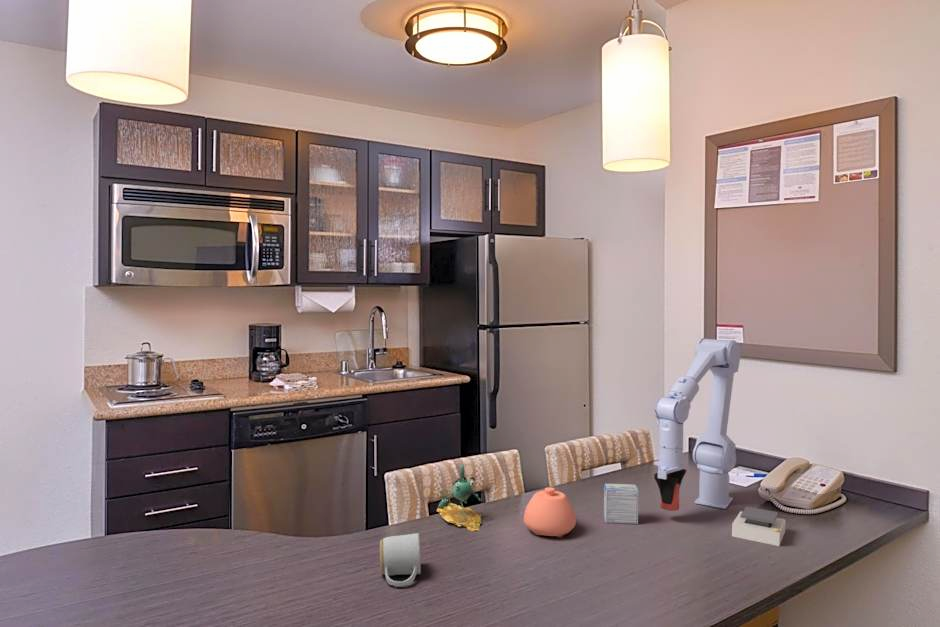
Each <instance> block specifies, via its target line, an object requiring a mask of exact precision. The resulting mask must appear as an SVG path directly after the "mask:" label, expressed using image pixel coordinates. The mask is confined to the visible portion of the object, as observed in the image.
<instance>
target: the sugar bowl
mask: <svg viewBox="0 0 940 627" xmlns="http://www.w3.org/2000/svg"><path fill="white" fill-rule="evenodd" d="M576 517H577V516H576V514H575V511H574V507H573V505H572V504H571V501H570V500H569V498H568V497H567V495H566V494H565V493H563V492H562V491H558V490H556V489H555V488H554V487H552V486H549V487H544V490H539V491H536V492H535V493H534V494H532V497H531V498H530V500H529V501H528V504H527V505H526V507H525V510H524V514H523V522H524V525H525V526H526V527H527V529H529V531H530V532H532V533H533V534H534V535H535V534H536V536H547V537H555V536H556V538H562V537H563V536H564V535H567V534H569V533H570V532H571V531H572V530H573V529H574V527H575V526H576V523H577V521H576V520H577V519H576Z"/></svg>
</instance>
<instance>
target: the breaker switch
mask: <svg viewBox="0 0 940 627" xmlns="http://www.w3.org/2000/svg"><path fill="white" fill-rule="evenodd" d="M778 516H779V512H778V511H772V510H768V509H767V510H766V509H763V508H757V507H752V506H745V507H744V509H743V511H742V514H741V516H740V518H745V519H747V523H748V524H753V525H758V526H763V527H768V528H771V523H772V524H774V522H775V520H776V518H778Z"/></svg>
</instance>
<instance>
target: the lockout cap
mask: <svg viewBox="0 0 940 627" xmlns="http://www.w3.org/2000/svg"><path fill="white" fill-rule="evenodd" d="M679 488H680V489H681V485H680V484H679V483H676V486H675V489H674V495H673V501H672V504H671V505H670V504H665V503H662V499H661V498H660V508H661V509H662V510H666V511H669V512H676V511H678V510H680V489H679Z"/></svg>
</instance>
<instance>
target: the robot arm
mask: <svg viewBox="0 0 940 627" xmlns="http://www.w3.org/2000/svg"><path fill="white" fill-rule="evenodd" d="M694 354H695V355H694V359H693V361H692V362H691V365H690V366H689V368H688V370H687V372H686V373H685V375H681V376H679V377H678V378H677V380H676V381H675V383H674V384H673V386H672V387H671V388H670V390H669V391H668V392H667V394H666V395H665V396H664V397H661V398H659V399H658V400H657V401H656V403H655V407H654V410H653V411H654V412H653V414H654V416H655V418H656V425H657V427H658V460H655V461H653V465H654V466H657V468H658V470H657V472H655V474H654V475H653V478H654V480H655V482H656V484H657V487H658V490H659V494H660V500H661V499H662V503H665V504H670V505H671V504H672V501H673V495H674V489H675V486H676V483H679V484H680V486H681V485H682V483H683V482H682V481H683V479H684V477H685V475H686V474H687V469H686V468H685V469H684V467H685V466H684V462H683V461H684V423H685V422H686V421H687V420H688V419H689V415H690V410H691V403H692V402H693V400H694V398H695V397H696V396H697V394H698V393H699V390H700V385H699V383H700V381H702V378H704V376H705V375H706V374H707V373H708V372H709V370H710V371H711V373H712V384H711V392H710V400H709V407H708V413H707V415H708V416H707V423H706V428H705V429H706V431H705V432H704V433H702V434H700V435H698V436H697V437H696V441H695V444H694V445H695V446H694V448H693V450H692V460H693V462H694V464H695V465H696V468H697V469H699V476H698V477H699V479H698V480H699V483H698V485H699V486H698V488H699V489H698V497H697V498H696V499H695V500H694V504H697V505H702V506H708V507H713V508H719V509H724V510H725V509H727V508H728V506H729V505H730V504H731V502H732V501H733V499H734V498H733V497H732V496H730V474H729V473H730V472H731V471H733V470H734V468H735V466H736V464H737V455H736V446H737V445H736V443H735V442H734V441H733V440H732V439H731V438H730V437H729V436H728V435H727V431H728V424H729V416H730V408H731V400H732V393H733V392H732V391H733V385H734V384H733V383H734V376H735V374H736V373H738V371H739V367H740V360H741V348H740V346H739V344H738V342H737V341H736V340H732V339H731V340H728V339H715V338H714V339H713V338H711V339H710V338H705V337H701V338H700V339H699V340H698V342H697V343H696V345H695V348H694ZM710 443H711V444H710ZM713 444H714V445H713ZM680 489H681V487H680V488H679V490H680Z"/></svg>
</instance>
